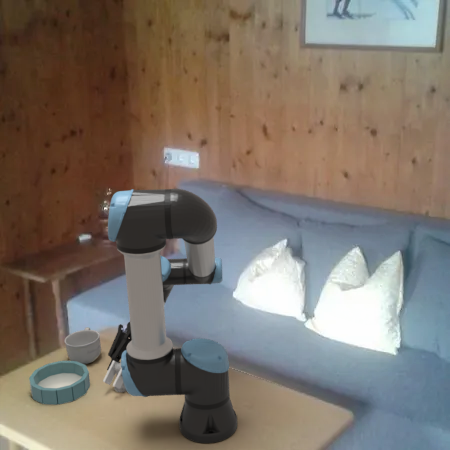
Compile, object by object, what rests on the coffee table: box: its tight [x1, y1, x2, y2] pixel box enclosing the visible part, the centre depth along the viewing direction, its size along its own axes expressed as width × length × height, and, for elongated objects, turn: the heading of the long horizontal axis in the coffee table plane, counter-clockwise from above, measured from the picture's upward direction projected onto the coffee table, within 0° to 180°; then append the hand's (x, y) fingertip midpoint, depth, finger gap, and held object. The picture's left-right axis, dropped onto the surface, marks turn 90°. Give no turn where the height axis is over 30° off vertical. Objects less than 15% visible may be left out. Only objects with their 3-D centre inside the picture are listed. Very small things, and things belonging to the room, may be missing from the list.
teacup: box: [64, 327, 102, 365], centre depth 210 cm, size 14×11×8 cm
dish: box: [28, 360, 91, 406], centre depth 193 cm, size 16×16×4 cm
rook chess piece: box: [113, 361, 127, 393], centre depth 191 cm, size 4×4×8 cm
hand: (111, 385), depth 188 cm, fingers closed on rook chess piece, 3 cm apart
